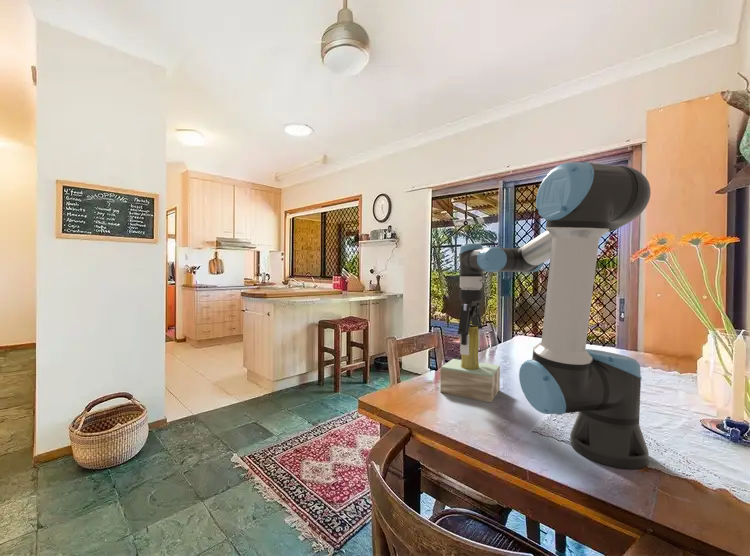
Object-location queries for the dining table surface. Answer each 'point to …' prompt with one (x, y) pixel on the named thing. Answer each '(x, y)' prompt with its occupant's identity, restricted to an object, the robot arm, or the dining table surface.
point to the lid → (482, 370)
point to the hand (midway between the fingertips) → (470, 350)
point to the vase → (471, 350)
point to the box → (470, 385)
